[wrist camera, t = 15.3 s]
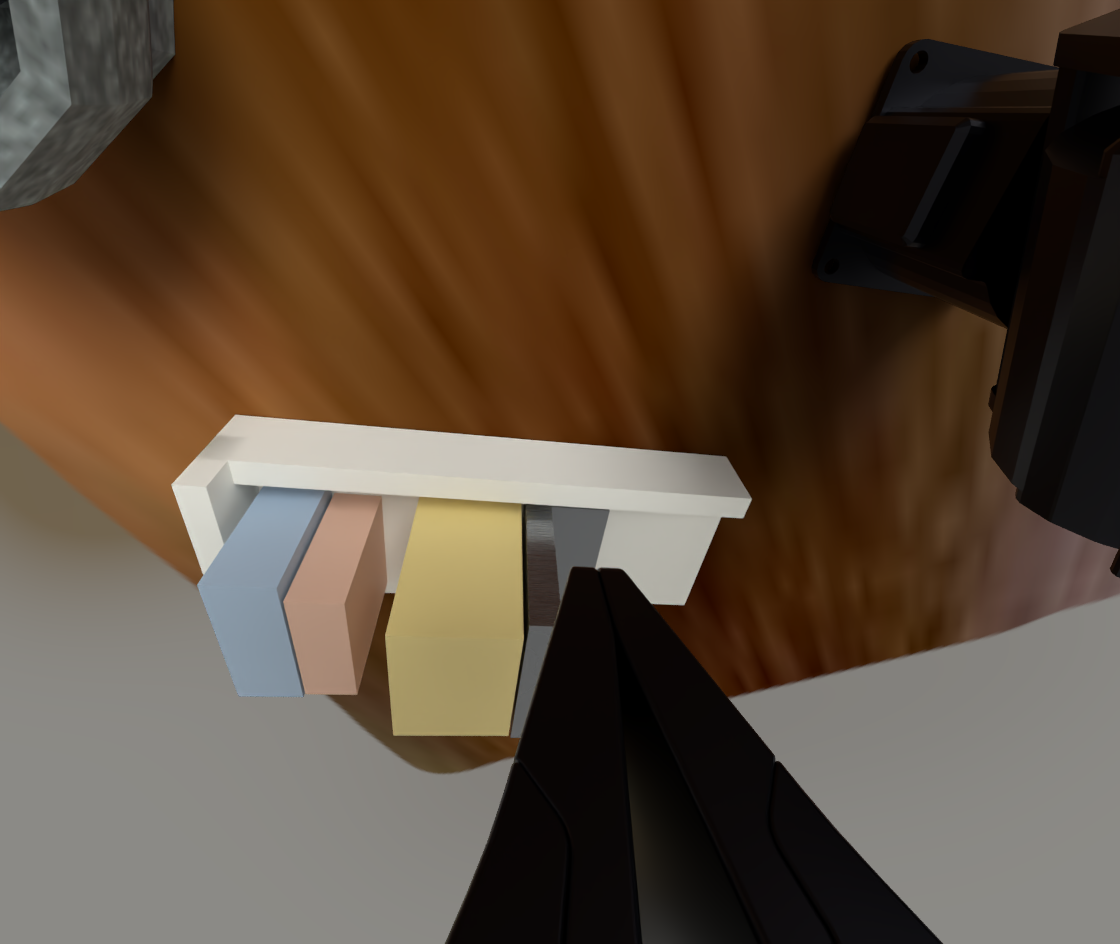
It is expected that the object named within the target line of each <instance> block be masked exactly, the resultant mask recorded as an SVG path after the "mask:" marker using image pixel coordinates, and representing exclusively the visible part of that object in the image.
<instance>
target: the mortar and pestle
mask: <svg viewBox="0 0 1120 944" xmlns="http://www.w3.org/2000/svg"><path fill="white" fill-rule="evenodd" d="M174 55H175V38H174V11H173V0H0V211H4V210H9V209H14V208H19V207H24V206H29V205H33V204H35V203H37V202H39V201H41V200H43V199H45V198H47V197H49V196H51V195H53V194H55V193H56V192H58V191H60V190H62V189H64V188H66V187H68V186H70V185H72V184H74V183H75V182H76V181H77V180H78V179H79V178H80V177H81V175H82V174H83V173H84V172H85V171H86V170H87V169H88V168H89V167H90V165H91V164H92V163H93V162H94V161H95V160H96V159H97V158H98V157H99V155H100V154H101V153H102V152H103V151H104V150H105V149H106V148H107V146H108V145H109V144H110V143H111V142H112V141H113V140H114V139H115V138H116V136H117V135H118V134H119V133H120V132H121V131H122V130H123V129H124V128H125V126H126V125H127V124H128V123H129V122H130V121H131V120H132V119H133V118H134V116H135V115H136V114H137V113H138V112H139V111H140V110H141V109H142V108H143V106H144V105H145V104H146V103H147V102H148V101H149V100H150V99H151V97H152V87H153V79H154V78H155V77H156V75H157V74H158V73H159V72H160V71H161V70H162V69H163V67H164V66H165V65H166V64H167V63H168V62H169V61H170V60H171V58H172V57H173V56H174Z"/></svg>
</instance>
